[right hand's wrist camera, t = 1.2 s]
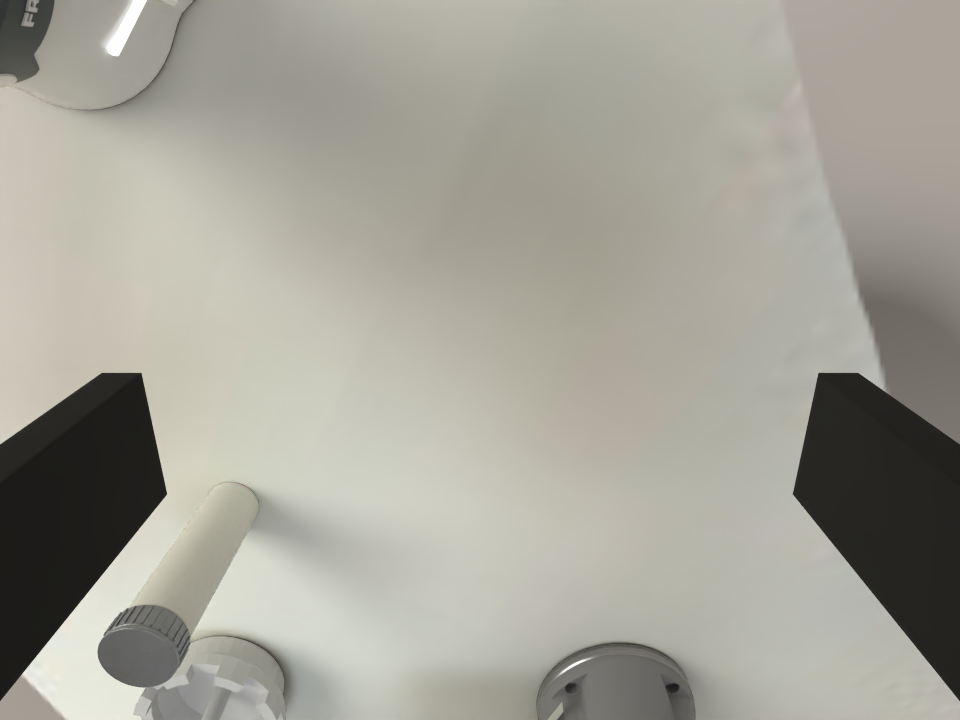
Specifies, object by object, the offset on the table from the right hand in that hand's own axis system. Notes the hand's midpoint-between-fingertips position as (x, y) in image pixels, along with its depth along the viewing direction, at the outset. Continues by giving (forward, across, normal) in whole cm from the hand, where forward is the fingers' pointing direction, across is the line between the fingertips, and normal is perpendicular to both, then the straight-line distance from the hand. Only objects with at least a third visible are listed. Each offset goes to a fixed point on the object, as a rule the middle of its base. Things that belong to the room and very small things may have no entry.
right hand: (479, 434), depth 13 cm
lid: (+19, +21, +26) cm, 39 cm away
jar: (+36, +21, +26) cm, 49 cm away
